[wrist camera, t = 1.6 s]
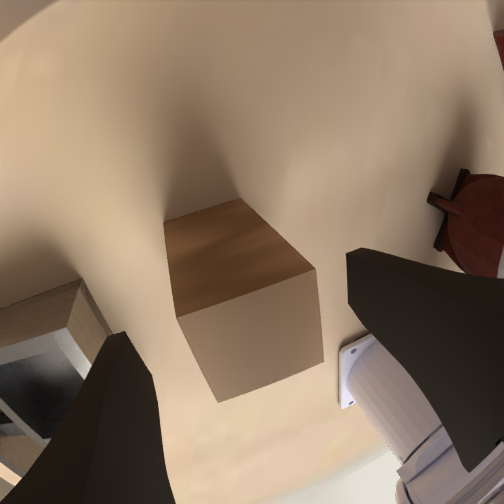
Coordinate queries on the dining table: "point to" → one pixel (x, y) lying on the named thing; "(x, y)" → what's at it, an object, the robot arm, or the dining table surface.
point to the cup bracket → (44, 367)
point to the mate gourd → (473, 224)
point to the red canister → (500, 44)
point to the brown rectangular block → (242, 299)
